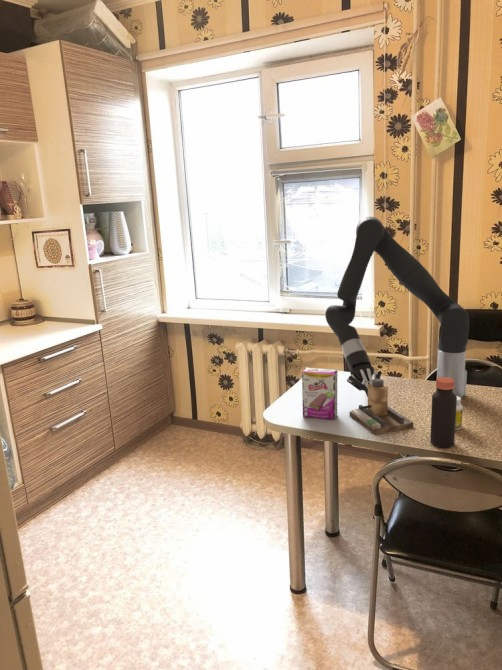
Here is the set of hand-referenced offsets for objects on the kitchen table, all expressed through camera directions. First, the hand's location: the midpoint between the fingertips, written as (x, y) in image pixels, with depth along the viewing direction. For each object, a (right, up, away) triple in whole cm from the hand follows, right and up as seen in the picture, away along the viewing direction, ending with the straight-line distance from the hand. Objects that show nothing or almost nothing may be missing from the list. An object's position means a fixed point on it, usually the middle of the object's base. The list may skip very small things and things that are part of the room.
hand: (373, 399), depth 184 cm
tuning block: (-1, -5, -2) cm, 5 cm away
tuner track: (+2, -7, -3) cm, 7 cm away
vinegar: (+16, -11, -19) cm, 27 cm away
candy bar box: (-17, -6, +4) cm, 19 cm away
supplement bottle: (+23, -8, -9) cm, 26 cm away
